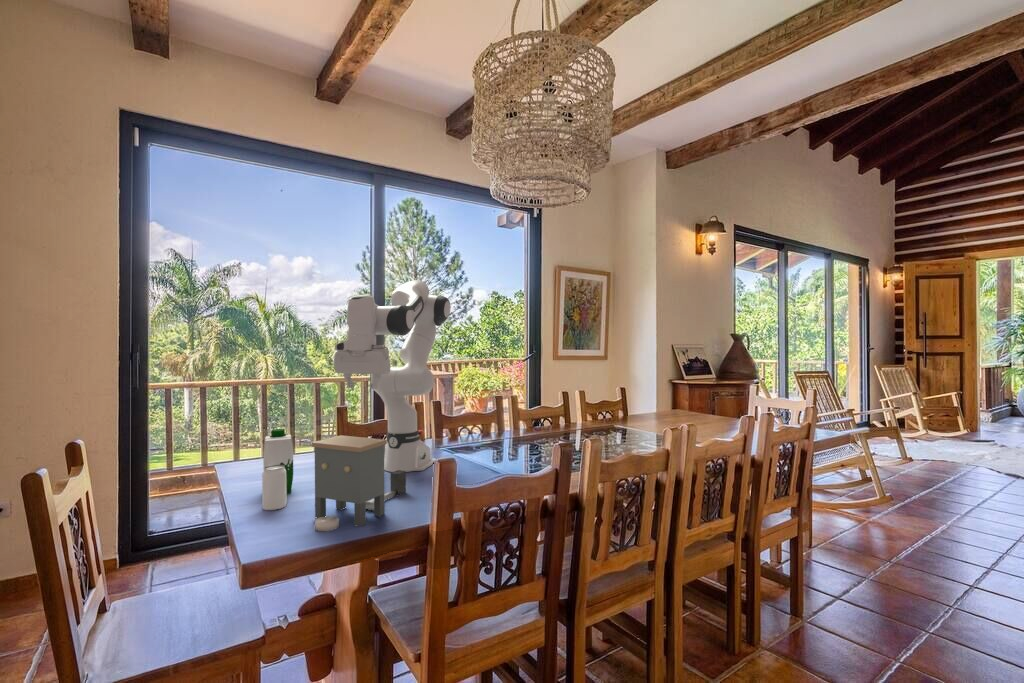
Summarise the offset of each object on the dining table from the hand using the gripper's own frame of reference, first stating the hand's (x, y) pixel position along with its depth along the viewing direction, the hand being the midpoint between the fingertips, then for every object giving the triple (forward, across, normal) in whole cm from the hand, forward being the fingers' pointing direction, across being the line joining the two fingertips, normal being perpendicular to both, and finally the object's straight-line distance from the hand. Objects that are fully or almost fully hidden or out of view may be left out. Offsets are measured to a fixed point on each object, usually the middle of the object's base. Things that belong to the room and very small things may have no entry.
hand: (362, 388), depth 161 cm
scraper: (+34, -10, +2) cm, 36 cm away
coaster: (+34, -10, +26) cm, 44 cm away
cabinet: (+34, -10, +17) cm, 39 cm away
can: (+34, +16, +20) cm, 43 cm away
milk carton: (+34, +27, +9) cm, 45 cm away
